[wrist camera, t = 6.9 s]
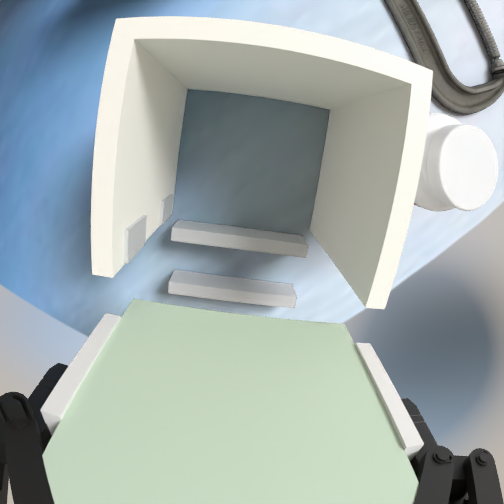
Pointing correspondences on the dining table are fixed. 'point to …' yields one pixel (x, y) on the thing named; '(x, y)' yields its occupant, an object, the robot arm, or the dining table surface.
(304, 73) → the cabinet
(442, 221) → the dining table surface
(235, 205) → the dining table surface
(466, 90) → the c clamp
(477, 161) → the pill bottle
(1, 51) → the dining table surface
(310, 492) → the door
